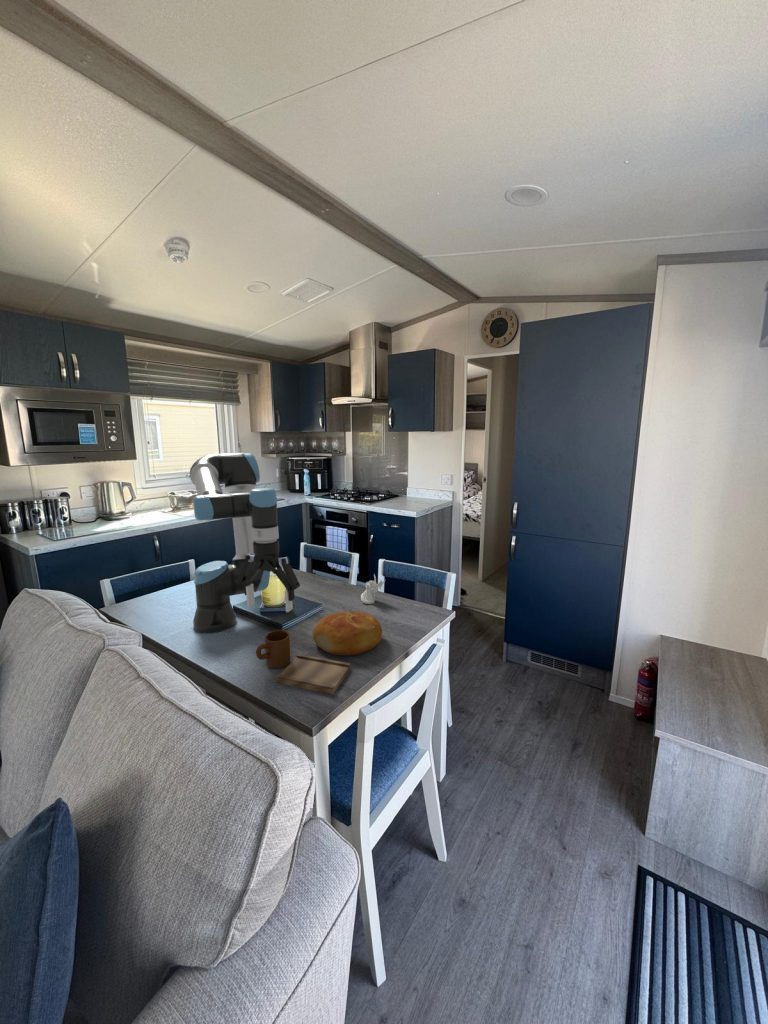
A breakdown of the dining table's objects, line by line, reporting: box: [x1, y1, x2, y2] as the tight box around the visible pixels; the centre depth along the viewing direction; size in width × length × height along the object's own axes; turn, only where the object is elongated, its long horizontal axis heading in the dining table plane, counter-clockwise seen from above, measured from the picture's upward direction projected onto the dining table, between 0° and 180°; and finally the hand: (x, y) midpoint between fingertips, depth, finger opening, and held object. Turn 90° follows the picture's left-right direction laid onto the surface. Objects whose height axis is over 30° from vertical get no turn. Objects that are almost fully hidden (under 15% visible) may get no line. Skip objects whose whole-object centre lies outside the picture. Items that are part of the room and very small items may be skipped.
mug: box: [255, 630, 291, 670], centre depth 133 cm, size 12×8×9 cm, turn 145°
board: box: [275, 653, 351, 695], centre depth 128 cm, size 18×13×2 cm
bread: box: [312, 610, 383, 656], centre depth 147 cm, size 23×23×10 cm
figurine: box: [360, 573, 386, 605], centre depth 181 cm, size 11×8×12 cm
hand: (269, 607), depth 131 cm, fingers open, 13 cm apart
